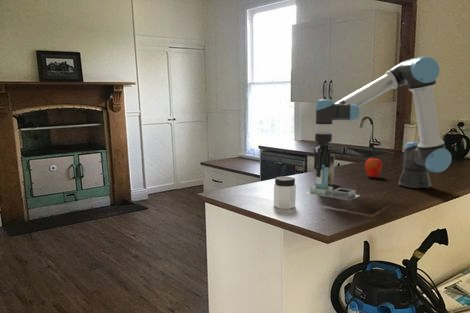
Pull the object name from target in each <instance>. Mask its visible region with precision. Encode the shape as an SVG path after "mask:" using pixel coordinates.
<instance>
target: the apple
mask: <svg viewBox="0 0 470 313" xmlns="http://www.w3.org/2000/svg"><path fill="white" fill-rule="evenodd" d="M382 167H383V163H382V161H381V159H379V158H375V157H371V158H368V159H366V161H365V163H364V170H365V172H366V175H367V176H368V177H369V178H378V176H379V175H380V173H381V172H382Z"/></svg>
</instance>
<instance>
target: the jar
mask: <svg viewBox="0 0 470 313" xmlns="http://www.w3.org/2000/svg"><path fill="white" fill-rule="evenodd" d="M296 192H297V185H296V178H295V177H292V176H277V177H275V180H274V184H273V206H274V207H276V208H278V209H280V210H291V209H293V208H295V207H296V200H297V199H296V194H297V193H296Z"/></svg>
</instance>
